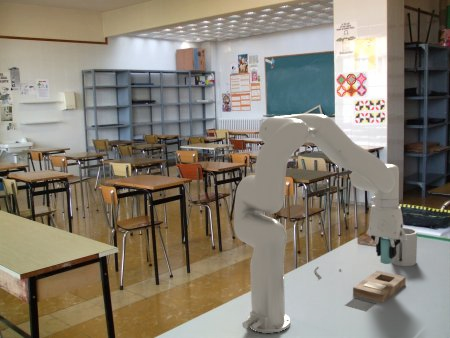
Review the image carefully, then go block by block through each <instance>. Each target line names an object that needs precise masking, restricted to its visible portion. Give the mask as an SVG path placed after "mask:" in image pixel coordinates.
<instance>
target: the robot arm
mask: <svg viewBox="0 0 450 338" xmlns="http://www.w3.org/2000/svg"><path fill="white" fill-rule="evenodd" d="M258 130H259V131H258V133H259V134H258V135H259V138H260V140H261V141H262V142H263V143H264V144H263V145H262V147H261V148H260V149H259V151H258V153H257V156H256V160H255V169H254V174H250V175H247V176H245V177H243V178H242V179H241V181H240V182H239V183H238V185H237V187H236V191H235V198H234V212H233V214H234V215H233V218H234V219H233V229H234V233H235V236H236V238H238V240H239V241H241V242H243V243H245V244H247V245H248V246H251V247H252V248H253V252H252V256H251V259H250V267H249V270H250V295H251V296H250V298H251V300H250V302H251V303H250V304H251V311H250V313H249V315H248V316H247V318H246V320H245V321H242V327H243V329H246V330H247V329H248V328H249V327H250V328H252V329H254V330H256V331H258V332H257V333H259V332H262V333H261V334H266V333H271V334H274V333H273V332H278V333H280V332H279V331H281V330H284V331H286V330H287V329H288V328H290V326H291V317H290V316H289V315H287V314H286V309H285V307H286V305H285V303H286V302H285V267H284V265H285V251H286V245H287V236H288V235H287V231H286V228H285V227H284V225H283V224H282V223H281V222H280V221H278V220H277V219H274V218H273V217H269V216H267V215H265V213H266V214H275V213H278V212H279V211H280V210H281V209H282V208H283V205H284V200H285V191H286V190H285V187H286V177H287V176H286V174H287V173H286V172H287V167H288V163H289V160H290V158H291V156H293V154H294V153H295V152H296V151H298V150H299V149H300V148H301V147H302V146H303V145H304V144H306V143H312V144H314V145H315V146H316V147H317V148H318V150H320V152H322V153H323V154H324V155H325V157H327V158H328V159H329V160H330V161H331V162H332V163H333V164H335V165H337V166H338V167H339V168H343V169H345V170H348V171H351V173H350V176H349V179H350V184H351V185H352V186H353V187H354V188H356V189H358V190H361V191H366V192H371V193H373V195H374V196H371V197H370V202H372V203H373V204H372V205H371V208H370V215H369V221H368V229H367V230H366V232H365V233H366V235H368V236H369V237H370V238H371V239H372V240H373V242H374V244H375V245H376V246H375V253H376V256H377V257H381V238H382V237H383V238H389V239H390V241H391V247H390V248H389V258H390V259H392V258H393V257H395V256H396V245H398V244H399V243H400V242H403V241H405V240H407V236H406V235H405V233H404V231H403V228H404V218H403V213H402V207H401V206H399V204H400V203H399V200H400V198H399V195H400V193H399V192H400V191H399V190H400V189H399V188H400V179H399V178H400V170H399V167H398V165H396V164H394V163H393V164H392V163H391V164H390V163H385V162H383V161H382V159H381V158H379V157H377V156H376V155H374V154H373V153H371V152H370V151H368V150H366V149H365V148H363V147H361V146H360V145H358V144H357V143H355V142H354V141H353V140H352V139H351V138H350V137H349V136H348V135H347V134H346V133H345V132H344V130H342V129H341V127H339V125H338V124H337V123H336V122H335V121H334V120H333V119H332V118H331V117H330V116H328V115H326V114H325V115H324V114H319V113H317V114H316V113H298V114H291V115H280V116H279V115H278V116H271V117H268V118H266V119H265V120H263V121H262V122H261V124H260V126H259V129H258ZM263 213H264V214H263ZM399 236H401V238H399V239H398V240H397V238H398V237H399ZM250 328H249V329H250ZM286 328H287V329H286ZM252 329H251V330H252ZM285 329H286V330H285ZM256 331H255V332H256Z"/></svg>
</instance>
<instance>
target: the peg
mask: <svg viewBox="0 0 450 338" xmlns="http://www.w3.org/2000/svg"><path fill="white" fill-rule="evenodd" d="M390 247H391V241H390V239H389V238H383V237H382V238H381V255H380V263H381V264H383V265H390V264H393V263H392V259H390V258H389V248H390Z"/></svg>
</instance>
